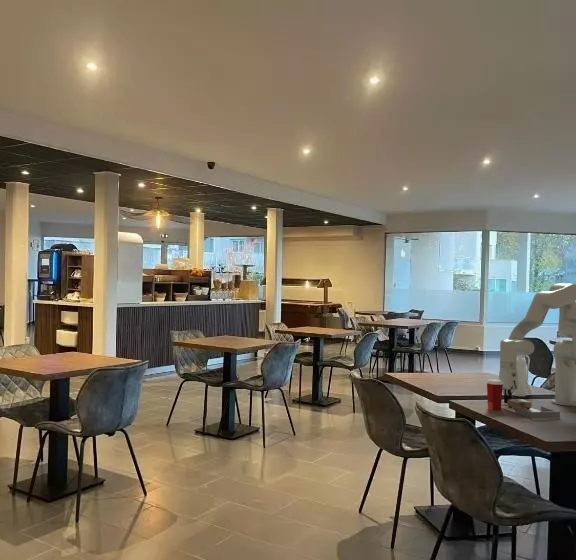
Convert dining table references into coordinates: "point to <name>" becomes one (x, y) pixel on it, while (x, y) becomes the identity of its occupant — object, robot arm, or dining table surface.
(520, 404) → the white wood-edged tile
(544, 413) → the dock bay
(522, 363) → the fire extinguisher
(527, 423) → the dining table surface
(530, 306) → the robot arm
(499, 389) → the paper cup
